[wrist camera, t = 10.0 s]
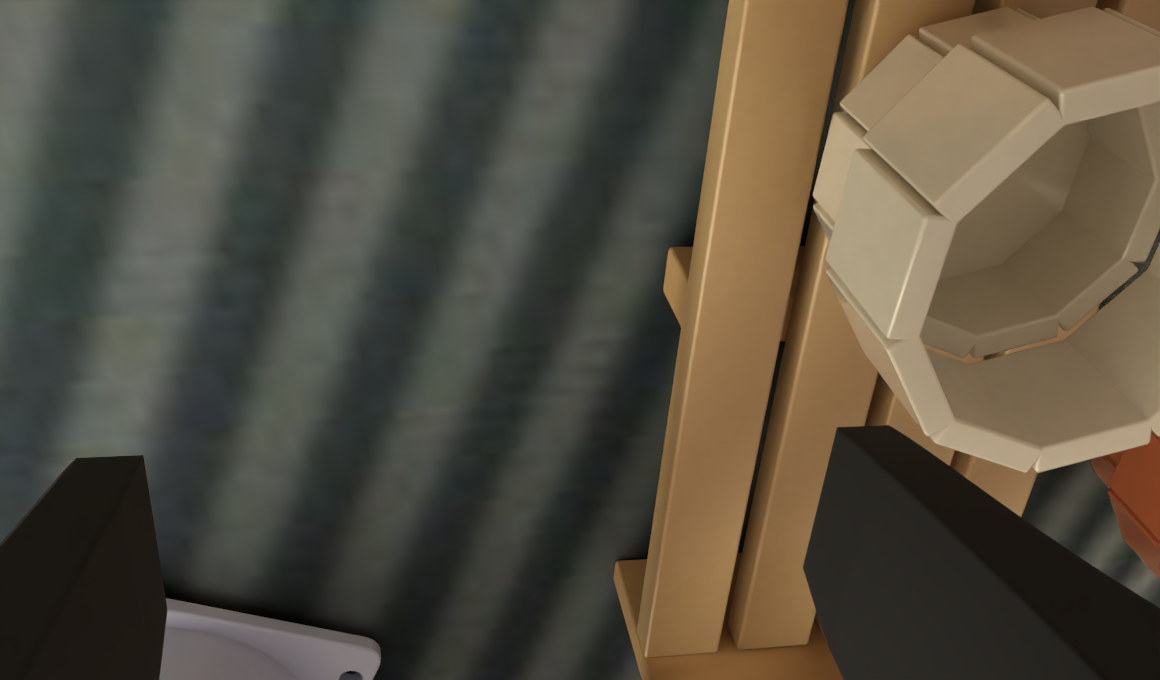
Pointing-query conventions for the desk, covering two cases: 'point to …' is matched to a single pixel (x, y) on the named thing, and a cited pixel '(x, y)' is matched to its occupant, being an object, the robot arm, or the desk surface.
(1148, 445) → the terracotta bowl
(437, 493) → the desk surface
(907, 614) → the robot arm
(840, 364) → the bowl rack
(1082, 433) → the cream bowl
